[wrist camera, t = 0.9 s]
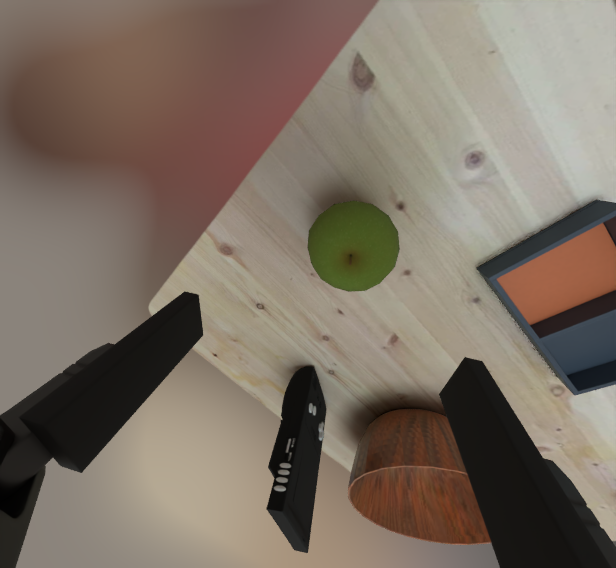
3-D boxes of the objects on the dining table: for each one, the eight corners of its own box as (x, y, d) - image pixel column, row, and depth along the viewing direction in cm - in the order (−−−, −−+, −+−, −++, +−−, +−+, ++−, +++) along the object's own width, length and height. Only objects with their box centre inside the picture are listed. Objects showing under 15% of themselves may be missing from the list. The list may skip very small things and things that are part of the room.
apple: (401, 238, 28) (425, 280, 18) (342, 270, 32) (336, 320, 22) (365, 174, 26) (371, 183, 16) (306, 217, 29) (279, 246, 19)
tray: (476, 268, 28) (488, 278, 26) (596, 199, 23) (626, 204, 20) (558, 377, 33) (574, 395, 31) (672, 342, 28) (703, 360, 25)
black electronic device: (329, 407, 46) (312, 554, 29) (307, 406, 47) (279, 547, 30) (316, 364, 41) (286, 511, 24) (292, 364, 42) (248, 505, 25)
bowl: (436, 479, 51) (455, 556, 41) (332, 440, 51) (326, 506, 42) (521, 424, 39) (578, 514, 29) (383, 371, 39) (392, 443, 29)
